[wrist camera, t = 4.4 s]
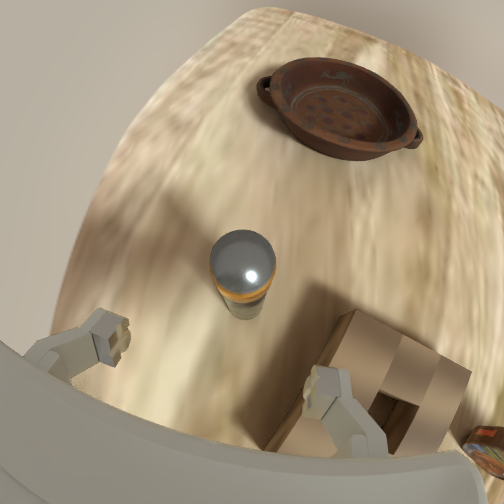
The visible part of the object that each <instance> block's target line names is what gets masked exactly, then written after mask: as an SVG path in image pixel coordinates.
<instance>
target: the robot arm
mask: <svg viewBox="0 0 504 504" xmlns="http://www.w3.org/2000/svg"><path fill="white" fill-rule="evenodd" d="M128 326H129V319H127V318H126V317H123V316H120V315H118V314H115V313H113V312H110V311H107V310H104V309H102V308H98V309H96V310H95V311H94V313H93V314H92V315H91V316H90V317H89V318H88V319H87V320H86V321H85V323H84V324H83V325H82V326H81V327H80V328H78V327H76V328H73V329H70V330H67V331H64V332H62V333H59V334H56V335H53V336H50V337H47V338H44V339H42V340H39V341H37V342H36V343H35V344H34V345H33V346H32V347H31V348H30V349H29V350H28V352H27V353H26V354H25V355H24V356H21V355H19V354H18V353H17V352H15V351H14V350H12V349H11V348H10V347H8V346H7V345H5V344H4V343H3V342H2V341H0V504H488V500H487V495H486V491H485V487H484V484H483V480H482V477H481V474H480V472H479V470H478V469H477V467H476V466H475V465H474V464H473V463H472V462H471V461H470V460H469V459H467V458H466V457H465V456H464V455H463V454H462V453H460V452H459V451H457V450H448V451H443V452H437V453H430V454H422V455H413V456H403V457H389V453H388V446H387V439H386V434H385V433H384V431H383V430H382V429H381V428H380V427H379V426H378V424H377V423H376V422H375V421H374V420H373V419H372V417H371V416H370V415H369V414H368V413H367V412H366V410H365V409H364V408H363V407H362V406H361V404H360V403H359V402H358V401H357V400H356V399H353V397H352V389H351V381H350V374H349V370H348V369H343V368H335V367H328V366H321V365H314V366H313V367H312V369H311V375H310V376H308V377H307V379H306V382H305V385H304V389H303V398H304V399H305V402H304V404H303V410H302V417H303V418H309V419H317V420H321V422H322V424H323V426H324V427H325V429H326V431H327V432H328V434H329V436H330V438H331V439H332V441H333V443H334V444H335V446H336V448H337V449H338V451H337V452H336V453H334V454H333V455H332V456H331V457H330V458H325V457H310V456H299V455H290V454H282V453H274V452H268V451H261V450H256V449H250V448H245V447H240V446H235V445H230V444H226V443H221V442H217V441H213V440H209V439H205V438H201V437H198V436H194V435H191V434H187V433H184V432H181V431H177V430H174V429H171V428H168V427H165V426H162V425H159V424H156V423H153V422H151V421H148V420H145V419H143V418H140V417H137V416H135V415H132V414H130V413H127V412H125V411H122V410H120V409H118V408H115V407H113V406H111V405H109V404H106V403H104V402H102V401H100V400H98V399H96V398H94V397H92V396H90V395H88V394H86V393H84V392H82V391H80V390H78V389H76V388H74V387H73V386H72V384H71V381H70V378H72V377H74V376H75V375H77V374H79V373H81V372H83V371H85V370H86V369H88V368H90V367H92V366H94V365H95V364H97V363H99V362H102V363H104V364H107V365H109V366H112V367H114V368H115V367H116V365H117V364H118V362H119V361H120V359H121V353H122V352H125V351H126V350H127V348H128V347H129V344H130V340H131V333H130V331H129V330H128V328H127V327H128Z"/></svg>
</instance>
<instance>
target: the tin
mask: <svg viewBox="0 0 504 504" xmlns="http://www.w3.org/2000/svg"><path fill="white" fill-rule="evenodd" d="M462 448H463V450H464V452H465V453H466V454H467V455H468V456H469V457H471V458H472V459H473V460H474V461H475V462H476V463H477V464H478V465H479V466H480V467H481V468H483V469H484V470H485V471H486V472H487V473H488V474H490V475H492V476H494V477H496V478H499V479H501V480H504V427H499V426H498V427H493V426H477V427H475V428H474V430H473V431H472V432H471V434H470V436H469V437H468V439H467V441H466V442H465V443H464V444H463V446H462Z"/></svg>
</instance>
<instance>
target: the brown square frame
mask: <svg viewBox="0 0 504 504" xmlns="http://www.w3.org/2000/svg"><path fill="white" fill-rule="evenodd" d="M316 365H321V366H328V367H335V368H343V369H348V370H349V374H350V381H351V389H352V397H353V399H356V400H357V401H358V402H359V403H360V404H361V406H362V407H363V408H364V409H365V410H366V412H368V410H369V408H370V406H371V404H372V402H373V400H374V398H375V397H376V395H377V393H380V394H383V395H385V396H387V397H390V398H392V399H394V400H397V401H398V402H397V404H396V406H395V408H394V410H393V411H392V413H391V415H390V417H389V419H388V421H387V423H386V425H385V426H384V428H383V431H384V433H385V434H386V439H387V446H388V453H389V457H403V456H413V455H422V454H430V453H436V452H437V450H438V448H439V447H440V445H441V443H442V441H443V439H444V437H445V435H446V433H447V431H448V429H449V427H450V425H451V423H452V420H453V418H454V416H455V414H456V411H457V409H458V407H459V404H460V402H461V400H462V397H463V394H464V392H465V389H466V387H467V384H468V381H469V378H470V376H471V373H472V372H471V371H470V370H468V369H466V368H464V367H462V366H460V365H459V364H457V363H455V362H453V361H451V360H449V359H447V358H446V357H444V356H442V355H440V354H438V353H436V352H434V351H433V350H431V349H429V348H427V347H425V346H423V345H421V344H420V343H418V342H416V341H414V340H412V339H410V338H408V337H407V336H405V335H403V334H401V333H399V332H397V331H396V330H394V329H392V328H390V327H388V326H386V325H384V324H383V323H381V322H379V321H377V320H375V319H373V318H371V317H370V316H368V315H366V314H364V313H362V312H360V311H359V310H357V309H356V310H354V311H351V312H349V313H347V314H344V315H342V316H340V318H339V320H338V322H337V324H336V327H335V329H334V331H333V333H332V335H331V337H330V339H329V341H328V343H327V345H326V346H325V348H324V350H323V352H322V354H321V356H320V358H319V360H318V362H317V364H316ZM303 389H304V387H303ZM303 389H302V390H301V392H300V394H299V396H298V397H297V399H296V401H295V402H294V404H293V406H292V407H291V409H290V411H289V412H288V414H287V415H286V417H285V419H284V420H283V422H282V423H281V425H280V426H279V428H278V430H277V431H276V433H275V434H274V436H273V437H272V439H271V440H270V442H269V443H268V445H267V446H266V448H265V449H264V451H268V452H274V453H282V454H290V455H299V456H310V457H325V458H330V457H331V456H332V455H333V454H334V453H336V452H337V451H338V449H337V448H336V446H335V444H334V443H333V441H332V439H331V438H330V436H329V434H328V432H327V431H326V429H325V427H324V426H323V424H322V422H321V420H317V419H309V418H303V417H302V410H303V404H304V402H305V399H304V398H303Z"/></svg>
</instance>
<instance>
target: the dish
mask: <svg viewBox="0 0 504 504" xmlns="http://www.w3.org/2000/svg"><path fill="white" fill-rule="evenodd" d="M268 87H270V92H268V91H266V90H265V88H268ZM257 92H258V96H259V97H260V99H261V100H262V101H263V102H265V103H267V104H269V105H271V106H273V107H274V108H276V109H278V110H279V111H280V114H281V116H282V118H283V120H284V121H285V123H286V125H287V126H288V128H289V129H290V130H291V132H292V133H293V134H294V135H295V136H296V137H297V138H298V139H300V140H301V141H302V142H304V143H305V144H306V145H308V146H310V147H311V148H313V149H315V150H317V151H319V152H321V153H323V154H326V155H328V156H331V157H334V158H338V159H342V160H348V161H365V160H371V159H375V158H378V157H381V156H383V155H385V154H387V153H389V152H391V151H395V150H398V149H401V148H403V147H404V148H408V149H415V148H417V147H418V146H419V145H420V144H421V142H422V141H423V135H422V133H421V131H420V130H419V128H418V127H417V120H416V117H415V115H414V113H413V111H412V109H411V107H410V105H409V104H408V102H407V101H406V99H405V98H404V96H403V95H402V94H401V93H400V92H399V91H398V90H397V89H396V88H395V87H394V86H393V85H391V84H390V83H389V82H388V81H386V80H385V79H384V78H382V77H381V76H379V75H378V74H376V73H374V72H372V71H370V70H368V69H366V68H364V67H361V66H358V65H356V64H353V63H349V62H346V61H342V60H337V59H331V58H322V57H316V58H302V59H297V60H294V61H291V62H289V63H287V64H285V65H283V66H282V67H281V68H280V69H278V70H277V71H276V72H275V73H273V75H272V76H268V77H264V78H261V79H260V80H259V81H258V82H257Z"/></svg>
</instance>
